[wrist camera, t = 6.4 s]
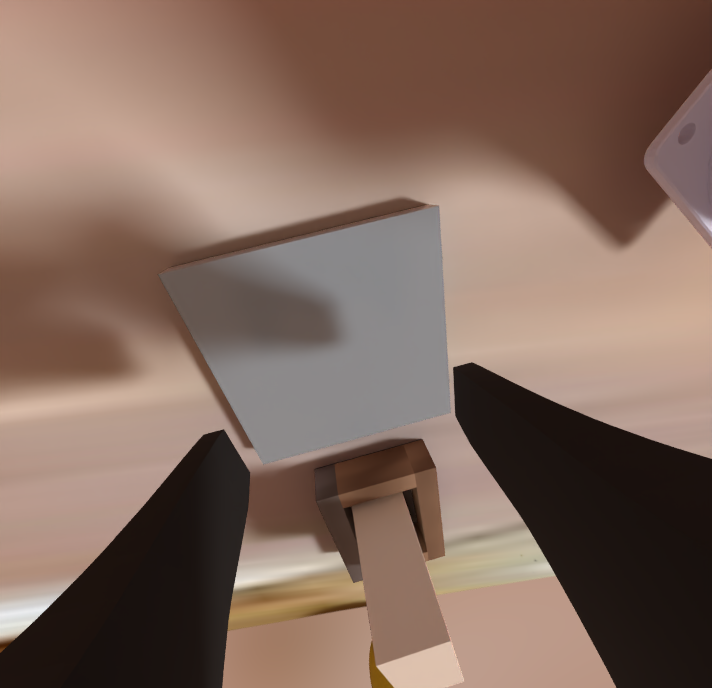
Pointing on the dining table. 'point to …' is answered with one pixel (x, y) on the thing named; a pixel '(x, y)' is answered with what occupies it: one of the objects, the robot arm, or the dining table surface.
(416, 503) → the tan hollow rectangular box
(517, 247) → the dining table surface
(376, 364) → the tile
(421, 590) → the tan rectangular post
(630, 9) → the dining table surface
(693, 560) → the robot arm
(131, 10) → the dining table surface
